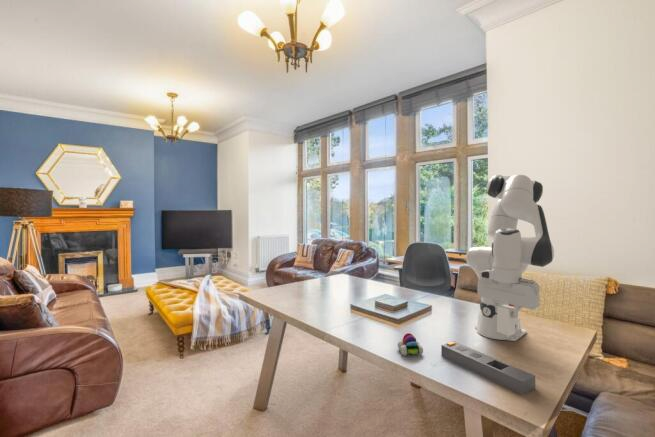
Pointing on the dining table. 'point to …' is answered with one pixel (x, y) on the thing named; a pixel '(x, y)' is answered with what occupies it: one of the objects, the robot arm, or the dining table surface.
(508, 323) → the charger plug
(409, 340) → the multicoloured domed toy
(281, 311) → the dining table surface
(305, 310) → the dining table surface
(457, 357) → the power strip
